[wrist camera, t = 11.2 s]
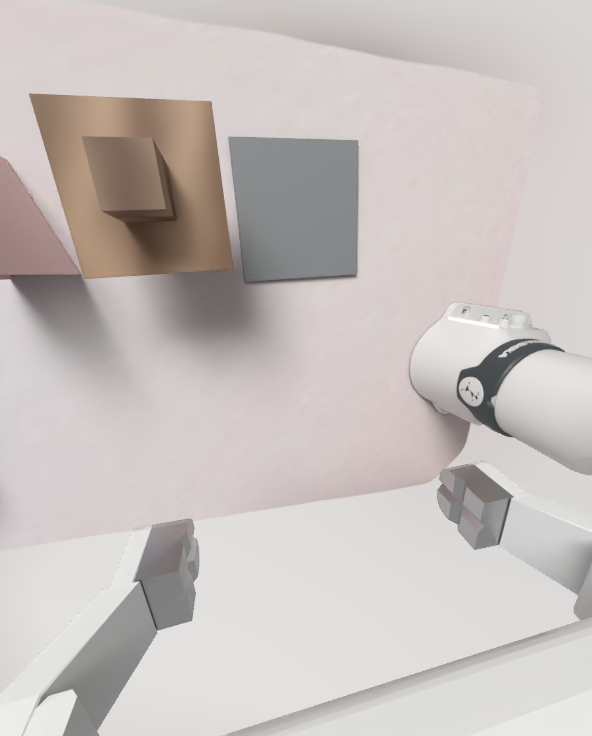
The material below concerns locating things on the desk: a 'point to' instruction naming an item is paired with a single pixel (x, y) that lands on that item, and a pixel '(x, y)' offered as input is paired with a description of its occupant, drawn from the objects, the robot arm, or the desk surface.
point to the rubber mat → (296, 206)
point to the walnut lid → (137, 183)
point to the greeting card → (27, 233)
